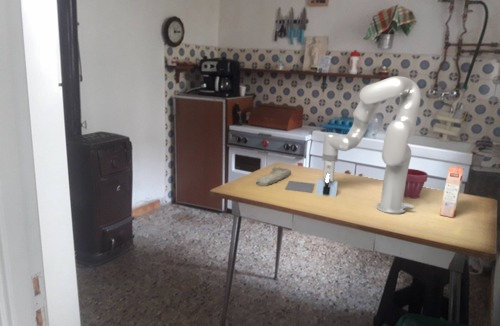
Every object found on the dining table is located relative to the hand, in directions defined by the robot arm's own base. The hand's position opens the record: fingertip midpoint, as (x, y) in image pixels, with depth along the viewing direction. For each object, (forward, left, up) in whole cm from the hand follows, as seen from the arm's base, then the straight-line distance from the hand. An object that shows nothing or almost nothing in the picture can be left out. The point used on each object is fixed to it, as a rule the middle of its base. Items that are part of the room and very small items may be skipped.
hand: (326, 192), depth 196 cm
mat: (+14, -7, -1) cm, 16 cm away
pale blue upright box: (0, 0, -1) cm, 1 cm away
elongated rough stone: (+30, -16, -1) cm, 34 cm away
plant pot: (-42, -15, -1) cm, 45 cm away
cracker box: (-56, +6, -1) cm, 56 cm away
